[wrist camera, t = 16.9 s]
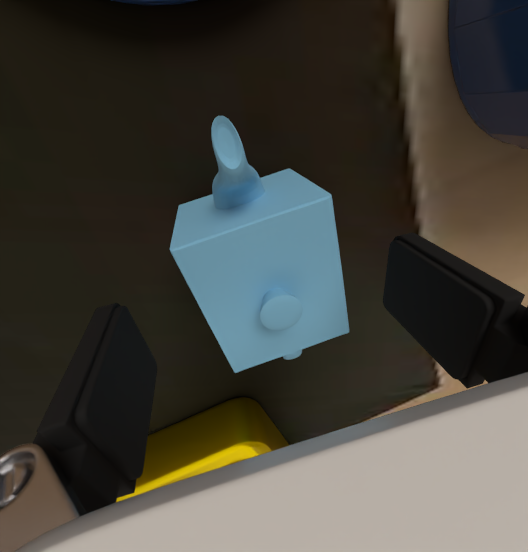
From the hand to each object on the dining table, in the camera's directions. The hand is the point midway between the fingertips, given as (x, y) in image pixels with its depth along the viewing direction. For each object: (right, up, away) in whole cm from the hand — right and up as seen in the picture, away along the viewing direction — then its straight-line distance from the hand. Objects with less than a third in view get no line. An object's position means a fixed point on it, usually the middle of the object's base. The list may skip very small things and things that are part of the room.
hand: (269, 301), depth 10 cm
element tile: (-6, -18, +19) cm, 27 cm away
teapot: (-1, +4, +7) cm, 8 cm away
